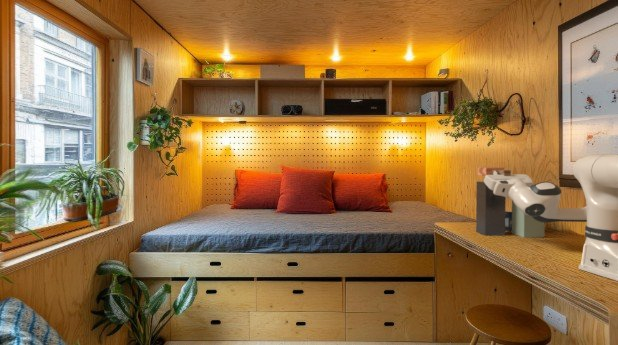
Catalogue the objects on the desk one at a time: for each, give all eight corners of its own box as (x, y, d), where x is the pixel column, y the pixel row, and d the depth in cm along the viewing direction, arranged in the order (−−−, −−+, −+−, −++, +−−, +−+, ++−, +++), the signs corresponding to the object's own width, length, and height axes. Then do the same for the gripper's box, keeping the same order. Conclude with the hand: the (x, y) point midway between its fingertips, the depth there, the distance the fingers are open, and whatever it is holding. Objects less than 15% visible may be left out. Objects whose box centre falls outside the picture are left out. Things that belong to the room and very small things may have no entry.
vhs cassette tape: (481, 228, 191) (481, 209, 191) (483, 227, 193) (483, 209, 193) (520, 232, 178) (520, 213, 178) (521, 232, 181) (521, 212, 180)
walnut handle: (517, 176, 163) (517, 168, 162) (497, 176, 162) (498, 168, 162) (494, 174, 181) (494, 167, 180) (477, 175, 180) (477, 167, 180)
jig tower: (505, 235, 173) (505, 182, 172) (485, 235, 173) (485, 182, 172) (495, 231, 182) (495, 181, 181) (476, 231, 181) (476, 181, 180)
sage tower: (544, 237, 168) (545, 186, 167) (523, 237, 167) (524, 187, 167) (530, 232, 177) (531, 185, 176) (511, 233, 177) (512, 185, 176)
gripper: (540, 182, 156) (523, 166, 167) (495, 183, 155) (480, 166, 166) (535, 194, 159) (518, 177, 171) (491, 194, 158) (477, 177, 170)
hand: (499, 172), depth 169 cm, fingers closed on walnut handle, 3 cm apart
